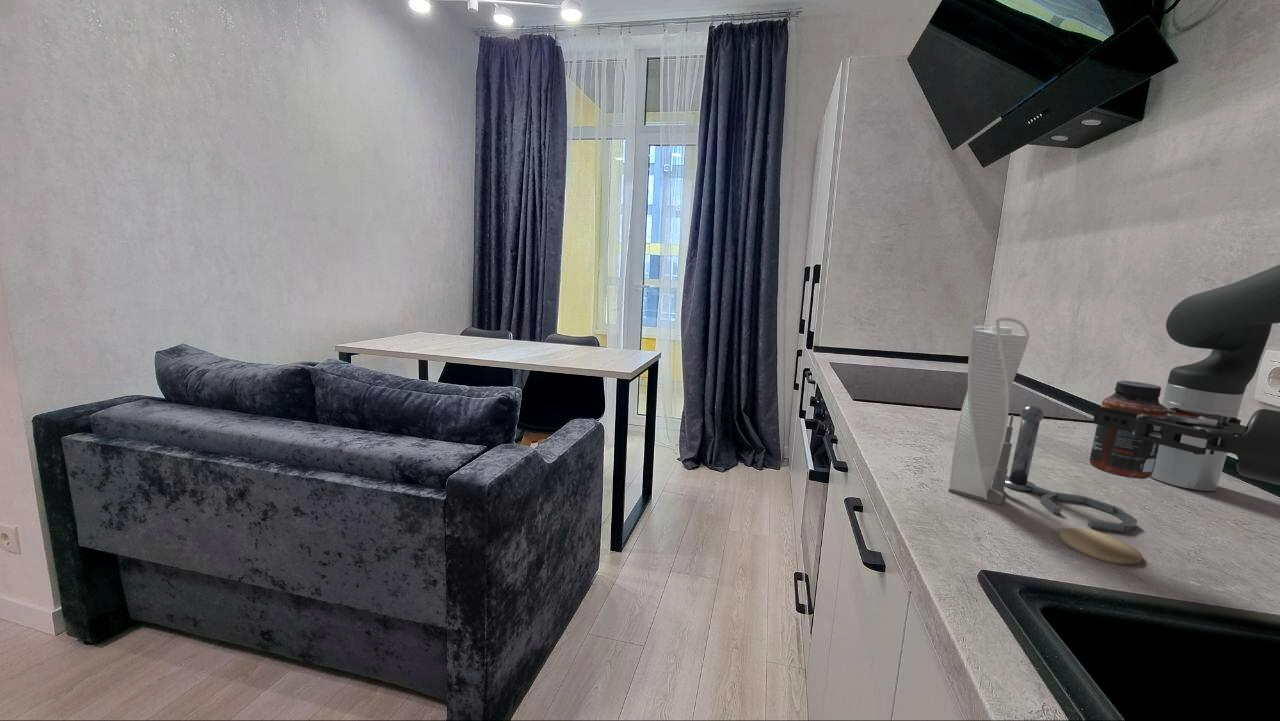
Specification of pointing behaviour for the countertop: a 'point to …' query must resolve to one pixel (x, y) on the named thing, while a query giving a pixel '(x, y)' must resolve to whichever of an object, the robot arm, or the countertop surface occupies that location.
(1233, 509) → the countertop surface
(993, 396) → the skyscraper
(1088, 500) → the ring holder
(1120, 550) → the coaster
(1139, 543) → the countertop surface
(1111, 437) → the supplement bottle
